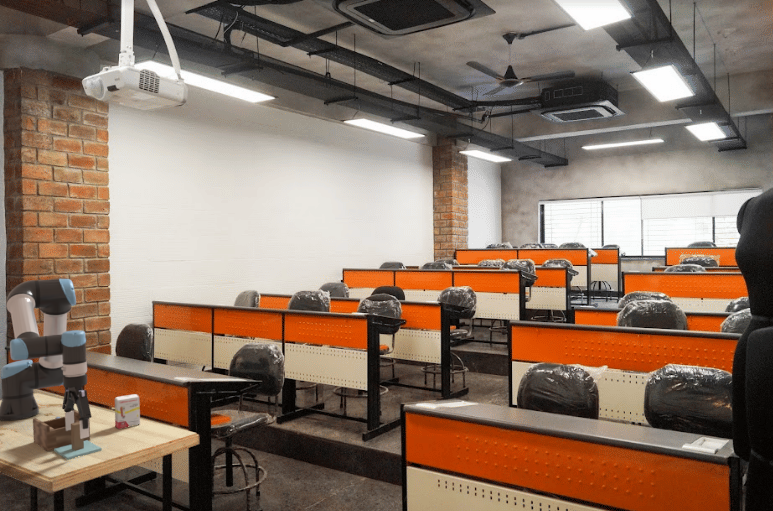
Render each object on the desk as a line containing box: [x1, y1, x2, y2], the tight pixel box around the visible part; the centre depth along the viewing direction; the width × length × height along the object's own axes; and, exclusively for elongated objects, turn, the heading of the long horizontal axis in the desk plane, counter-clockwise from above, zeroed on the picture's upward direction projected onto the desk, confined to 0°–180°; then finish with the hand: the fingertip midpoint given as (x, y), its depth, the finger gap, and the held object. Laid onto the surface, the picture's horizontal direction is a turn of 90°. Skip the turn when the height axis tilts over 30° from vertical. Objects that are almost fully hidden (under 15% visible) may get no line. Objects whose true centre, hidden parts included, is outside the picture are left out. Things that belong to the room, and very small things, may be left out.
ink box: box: [114, 393, 141, 430], centre depth 231 cm, size 9×5×12 cm, turn 127°
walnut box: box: [32, 409, 91, 452], centre depth 214 cm, size 15×14×9 cm
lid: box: [53, 422, 103, 461], centre depth 204 cm, size 13×11×10 cm
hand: (77, 433), depth 204 cm, fingers open, 13 cm apart
